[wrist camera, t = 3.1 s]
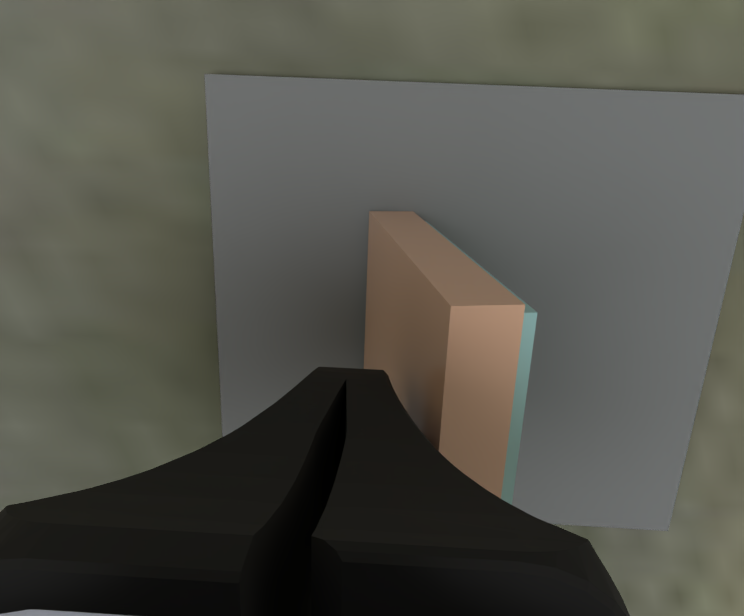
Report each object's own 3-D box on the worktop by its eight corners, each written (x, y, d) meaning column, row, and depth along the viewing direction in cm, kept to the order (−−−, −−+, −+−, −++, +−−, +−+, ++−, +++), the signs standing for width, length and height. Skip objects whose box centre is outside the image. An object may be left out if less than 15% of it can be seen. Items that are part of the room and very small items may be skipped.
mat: (660, 517, 19) (668, 531, 18) (231, 491, 19) (225, 504, 18) (757, 95, 15) (771, 96, 14) (212, 74, 15) (204, 73, 14)
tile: (410, 424, 17) (500, 627, 11) (361, 427, 17) (423, 635, 11) (424, 211, 15) (545, 304, 9) (369, 210, 15) (450, 306, 9)
